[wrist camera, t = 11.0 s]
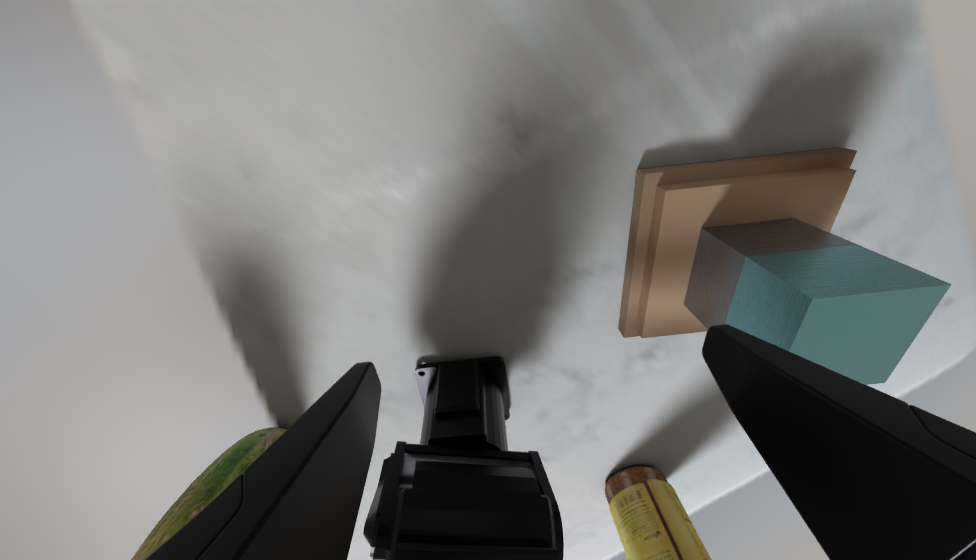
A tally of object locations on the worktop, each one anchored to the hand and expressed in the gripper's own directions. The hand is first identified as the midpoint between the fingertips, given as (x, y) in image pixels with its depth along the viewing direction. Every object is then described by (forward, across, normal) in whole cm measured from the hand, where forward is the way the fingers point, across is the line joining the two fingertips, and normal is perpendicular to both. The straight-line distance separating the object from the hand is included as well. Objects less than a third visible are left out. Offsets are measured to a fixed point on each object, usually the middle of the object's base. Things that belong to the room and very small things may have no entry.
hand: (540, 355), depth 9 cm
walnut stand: (+12, -13, +4) cm, 18 cm away
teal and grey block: (+10, -13, +4) cm, 17 cm away
